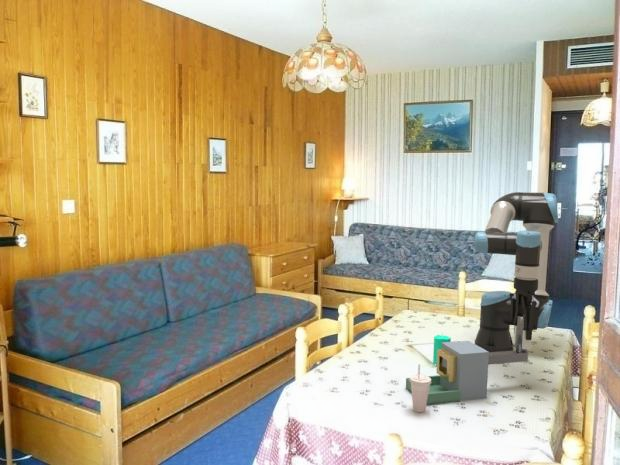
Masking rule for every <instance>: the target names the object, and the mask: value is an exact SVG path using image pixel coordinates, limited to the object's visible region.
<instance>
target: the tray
mask: <svg viewBox="0 0 620 465" xmlns="http://www.w3.org/2000/svg"><path fill="white" fill-rule="evenodd" d="M427 376H428V377H430V378H431V384H430V387H429V393H428V399H427V405H426V406H433V405H441V404H450V403H459V402H461V400H460V390H453V391H448V390H446V389H445V388H444V387H443V386H441V385H440V375H439V374H437V375H427ZM405 389H406V390H407V391H408V392H409V393H411V394H412V391H411V382H410V377H406V378H405Z"/></svg>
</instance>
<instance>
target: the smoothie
mask: <svg viewBox="0 0 620 465" xmlns="http://www.w3.org/2000/svg"><path fill="white" fill-rule="evenodd" d="M428 376H429V375H423V374H421V364H420V363H418V366H417V374H413V375H411V376H410V377H409V378H410V382H411V391H412V393H411V400H412V409H413V411H414V412H418V413H424V412H426V410H427V406H428V405H427V399H428V393H429V387H430V384H431V378H430V377H428Z"/></svg>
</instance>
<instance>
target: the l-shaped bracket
mask: <svg viewBox="0 0 620 465" xmlns="http://www.w3.org/2000/svg"><path fill="white" fill-rule="evenodd" d="M528 327H529V326H528ZM523 329H525V321H524V315H518V318H517V335H516V345H515V349H513V351H500V352H489V361H488V366H489V365H501V364H511V363H512V364H513V363H523V362H528V360H529V352H528V349H522V338H523ZM442 365H443V366H444V367H445V368H447V360H446V359H444V358H443V357H442Z"/></svg>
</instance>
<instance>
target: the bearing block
mask: <svg viewBox="0 0 620 465" xmlns="http://www.w3.org/2000/svg"><path fill="white" fill-rule="evenodd" d="M441 349H445V350H447V351H448V352H450V353H452V354H453V355H455V356H456V357H457V368H456V381H454V382H448V381H447V380H445V379H444V378H443V377H441V376H440V375H439V376H440V385H441V386H443V387H444V388H445V389H446V390H448V391H453V390H460V401H468V400H477V399H486V398H487V395H488V376H489V365H488V361H489V352H488V351H486V350H485V349H483V348H481V347H479V346H477V345H475V342H471V341H470V340H460V341H459V340H458V341H451V342H443V343H442V345H441ZM446 370H447V368H446Z"/></svg>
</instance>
